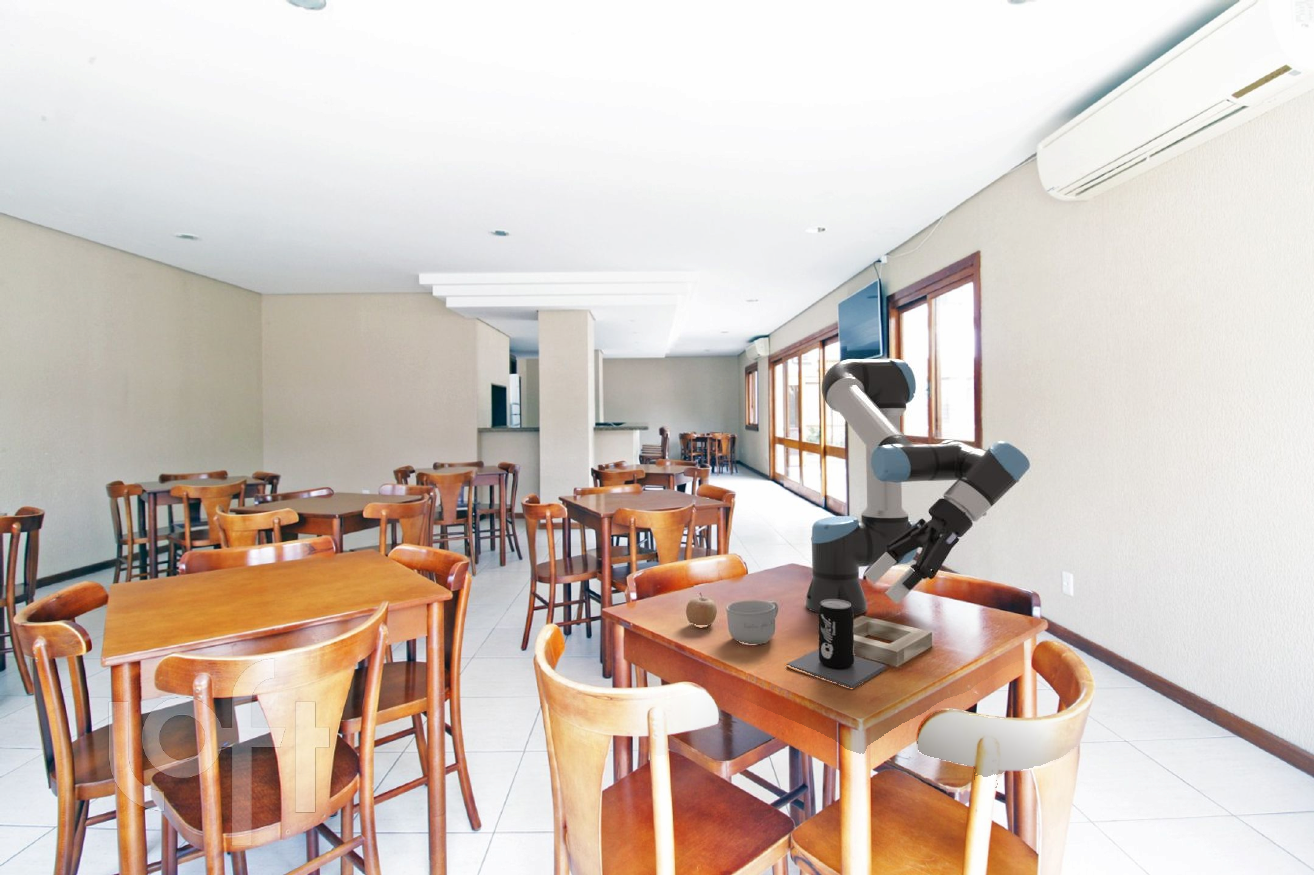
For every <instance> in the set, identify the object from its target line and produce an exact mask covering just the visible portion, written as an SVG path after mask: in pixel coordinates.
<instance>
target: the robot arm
mask: <svg viewBox="0 0 1314 875" xmlns="http://www.w3.org/2000/svg"><path fill="white" fill-rule="evenodd" d="M914 374H915V373H914V371H913V369H912V368H911V367H910V366H909V364H908V363H907V362H906V361H904V360H902V359H896V358H895V359H893V358H872V359H871V358H870V359H869V358H868V359H867V358H865V359H860V358H859V359H858V358H857V359H855V358H851V359H850V358H848V359H845V360H841V361H839V362H837V363H834V364H833V365H832V366H831V367H830V368H829V369H828V370H827V372H826V373H825V375H824V376H823V379H822V382H821V393H822V397H823V399H824V401H825V403H826V404H827V406H828V407H829V408H830V410H832V411H834V412H837V413H839V414H840V415H841V416H842V417H843V419H844V420H845V421H846V423H847V424H848V425H849V426H850V427H851V429H852V430H853V431H854V432H855V434H856V435H857V436H858V437H859V439H861V441H862V442H863V443H864V445H865V456H866V457H865V461H866V466H865V468H866V472H865V473H866V508H864V510H863V511H862V512H861V514H860V515H861V516H860V517H861V518H860V519H861V520H860V521H859V519H858V518H857V517H856V516H854V515H852V516H851V515H835V516H828V517H824V518H821V519H818V520H816V521H815V522H814V523H813V524H812V526H811V527H812V529H811V538H810V540H811V564H812V565H811V567H812V569H811V573H812V578H811V581H810V583H809V587H808V590H807V593H806V596H805V607H806V606H807V607H806V608H807V609H808V608H809V609H811V610H812V611H811V610H810V611H811V612H814V611H815V612H814V613H817V614H818V609H819V607H820V606H821V601H823V600H826V599H839V600H844V601H848V602H849V603H851V608H852V610H853V616H858V615H861V614H865V612H867V598H866V596H865V593H864V590H863V588H862V584H861V581H860V573H859V572H860V571H859V569H860V567H863V568H864V567H869V568H868V569H867V570H866V571H865V572H864V573H863V575H864V576H865V577H866V578H867V579H868V580H869V581H870V582H871V584H873V585H875V584H877V582H878V581H879V580H880V579H881V578H882V577H883V576H885V575H886V574H887V572H888V571H889V570H890V569H891V568H892V567H895V566H898V565H906V564H908V563H910V562H911V561H912V560H913V559H914V558H915V556H916V555H917V552H918V549H919V548H921V551H920V553H919V556H918V557H917V559H916V562H915V563H914V564H911V565H910V567H909V568H908V569H907V570H906V571H905V572H904V574H902V575H901V576H900V577H899V578H898V579H897V580H896V581H895V582H894V583H893V584H892V585H891V586H890V587H889V588H888V589H887V590H886V591H885V593H884V594H886V596H888V598H889V599H891V601H893V602H894V603H895V604H896V605H898V604H900V603H901V601H902V600H903V599H904V598H905V597H906V596H907V595H909V593H910V592H912V590H913V589H914V588H916V586H917V585H918V584H920V582H922V580H926V579H927V578H928V579H929V580H933V579H934V578H935V577H936V575H937V573H939V572H938V571H939V570H940V568H941V567H942V565H943V564H944V563H945V561H946V559H947V558H948V556H949V554H950V553H951V551H952V549H953V548H954V547H955V545H956V544H958V542H960V538H962V537H963V536H964V535H965V534H966V533H967V532H968V531H969V530H970V529H971V528H972V527H973V525H974V524H973V522H975V523H976V522H978V521H979V520H980V518H981V517H986V516H987V512H988V511H989V510H990V509H991V508H992V507H993V506H994V505H995V504H996V503H998V501H999V500H1000V499H1001V498H1003V496H1005V494H1007V493H1008V492H1009V490H1010V489H1012V487H1014V486H1015V485H1016V484H1017V483H1018V482H1020V479H1021V478H1022V477H1023V476H1024V475H1025V473H1027V471H1028V470H1029V469H1030V466H1031V464H1030V460H1029V458H1028V457H1027V456H1026V455H1025V454H1024V453H1023V451H1021V450H1020V449H1019V448H1017V447H1016V446H1014V445H1012V444H1011V443H1009V442H1006V441H1003V440H1000V441H996V442H995V443H994V444H992V445H991V446H989V447H988V449H985V448H984V449H982V448H980V447H977V446H974V445H971V444H968V443H967V442H963V441H960V440H952V439H947V440H943V441H941V442H939V443H935V444H933V443H931V444H914V443H912V442H911V441H910V440H909V439H908V438H907V437H906V436H905V434H904V433H903V432H901V416H902V414H904V413H905V412H906V411H907V404H908V403H910V402H911V401H912V400H913V399H914V397H915V393H916V390H917V389H916V388H917V386H916V385H917V384H916V383H917V382H916V378H915V375H914ZM928 481H929V482H938V481H955V482H954V483H952V485H951V486H949V488H948V489H947V490H946V491H945V492H944V493H943V494H942V495H943V497H942V498H938V499H937V500H936V501H935V502H934V504H932V505H931V506H930V508H928V511H927V512H928V514H929V515H930V516H931V519H930V520H929V521H926V520H925V519H924V518H921V519H919V520H918V521H917V522H916V523H914V522H913V521H912V520H910V519H909V513H908V512H906V510H904V508H903V500H902V498H903V496H902V494H903V493H902V492H903V491H902V489H903V488H902V483H905V482H906V483H907V482H909V483H910V482H928ZM809 609H808V610H809Z"/></svg>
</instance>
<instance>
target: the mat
mask: <svg viewBox="0 0 1314 875" xmlns="http://www.w3.org/2000/svg"><path fill="white" fill-rule="evenodd" d="M786 665H790V666H791V667H794V668H797V669H799V670H802V671H805V672H807V673H810V674H812V675H814V676H818V677H820V678H824V679H826V680H829V681H832V682H836V683H837V684H840V685H844V686H846V687H849V688H854V687H855V688H857V687H858V686H857V685H859V684H860V685H862V684H863V683H862V682H864V683H865V682H867V681H869V680H871V679H872V678H874V677H875V676H877V675H879V674H881V673H882V672H884V671H885V670H887V664H885V663H882V662H878V661H875V660H871V659H868V658H864V657H861V656H858V655H854V663H853V664H852V665H851V667H850V668H848V669H843V670H837V669H831V668H828V667H825V666H824V665H823V664H822V663H821V662H820V660H819V648H816V649H815V650H813V651H810V652H808V653H806V654H805V655H804V654H803V655H802V656H800V657H798V658H796V659H793V660H791V661H790V662H787V663H786ZM883 670H884V671H883ZM881 671H882V672H881ZM880 672H881V673H880ZM873 676H874V677H873ZM868 679H869V680H868ZM861 683H862V684H861ZM860 685H859V686H860ZM856 686H857V687H856ZM855 688H854V689H855Z"/></svg>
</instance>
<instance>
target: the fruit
mask: <svg viewBox="0 0 1314 875" xmlns="http://www.w3.org/2000/svg"><path fill="white" fill-rule="evenodd" d="M699 595H700V596H696V597H694V598H692V599H690V600H689V601H688V603H687V605H686V607H685V615H686V618H687V621H688V623H689V624H690V623H693V624H696V625H709V624H711V623H712V624H713V623H714V622H715V620H716V618H717V614H718V608H717V605H716V603H715V602H714V601H713V599H710V597H705V596H702V593H701V592H699ZM712 624H711V625H712Z"/></svg>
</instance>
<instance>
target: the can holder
mask: <svg viewBox="0 0 1314 875" xmlns="http://www.w3.org/2000/svg"><path fill="white" fill-rule="evenodd" d="M867 636H871V637H874V638H875V637H876V638H879V639H883V640H887V641H892V642H890V643H887V642H883V641H880V640H877V639H876V640H875V639H873V638H869V637H867ZM931 647H933V632H932V631H929V630H926V629H921V628H916V627H913V626H908V625H904V624H900V623H897V622H896V623H895V622H892V621H891V622H890V621H887V620H883V619H878V618H874V617H871V616H865V615H860V616H858V617H856V618H854V654H855V655H854V656H857V657H860V658H864V657H865V658H864V659H867V660H871V661H874V662H878V661H879V662H878V663H881V664H884V665H890V666H892V665H893V667H896V668H897V667H899V666H901V665H903V664H904V663H906V662H908V661H909V660H911V659H913V658H915V657H916V656H918V655H919V654H921V653H923V652H925V651H926V650H927V649H930V648H931Z"/></svg>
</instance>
